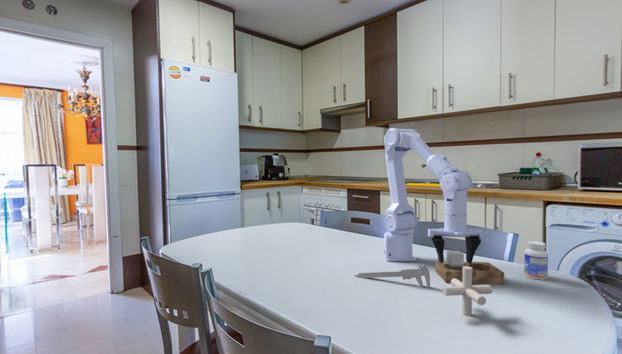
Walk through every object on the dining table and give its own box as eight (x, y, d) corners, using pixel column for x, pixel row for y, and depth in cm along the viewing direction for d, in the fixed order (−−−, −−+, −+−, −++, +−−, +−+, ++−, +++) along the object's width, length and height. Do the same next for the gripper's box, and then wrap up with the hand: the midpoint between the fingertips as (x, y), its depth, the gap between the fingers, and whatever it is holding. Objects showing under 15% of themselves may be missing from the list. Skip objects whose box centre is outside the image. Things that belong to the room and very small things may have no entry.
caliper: (430, 287, 82) (430, 264, 82) (429, 289, 81) (429, 265, 81) (355, 276, 91) (355, 254, 91) (354, 277, 91) (354, 255, 90)
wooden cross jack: (433, 304, 72) (433, 261, 71) (475, 302, 73) (475, 259, 72) (457, 327, 62) (457, 276, 61) (505, 324, 63) (505, 274, 62)
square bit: (450, 278, 88) (450, 254, 88) (446, 274, 91) (446, 250, 91) (463, 279, 87) (463, 254, 87) (458, 274, 91) (459, 250, 91)
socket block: (445, 282, 85) (445, 271, 85) (435, 271, 94) (435, 261, 94) (504, 283, 84) (504, 272, 84) (488, 272, 93) (488, 262, 93)
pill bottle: (524, 272, 92) (524, 239, 92) (547, 275, 89) (548, 241, 89) (523, 277, 88) (524, 243, 88) (548, 281, 85) (548, 246, 84)
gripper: (433, 216, 85) (432, 266, 86) (489, 217, 84) (488, 267, 84) (425, 212, 92) (425, 258, 93) (477, 212, 91) (476, 259, 91)
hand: (454, 262), depth 89 cm, fingers open, 7 cm apart
